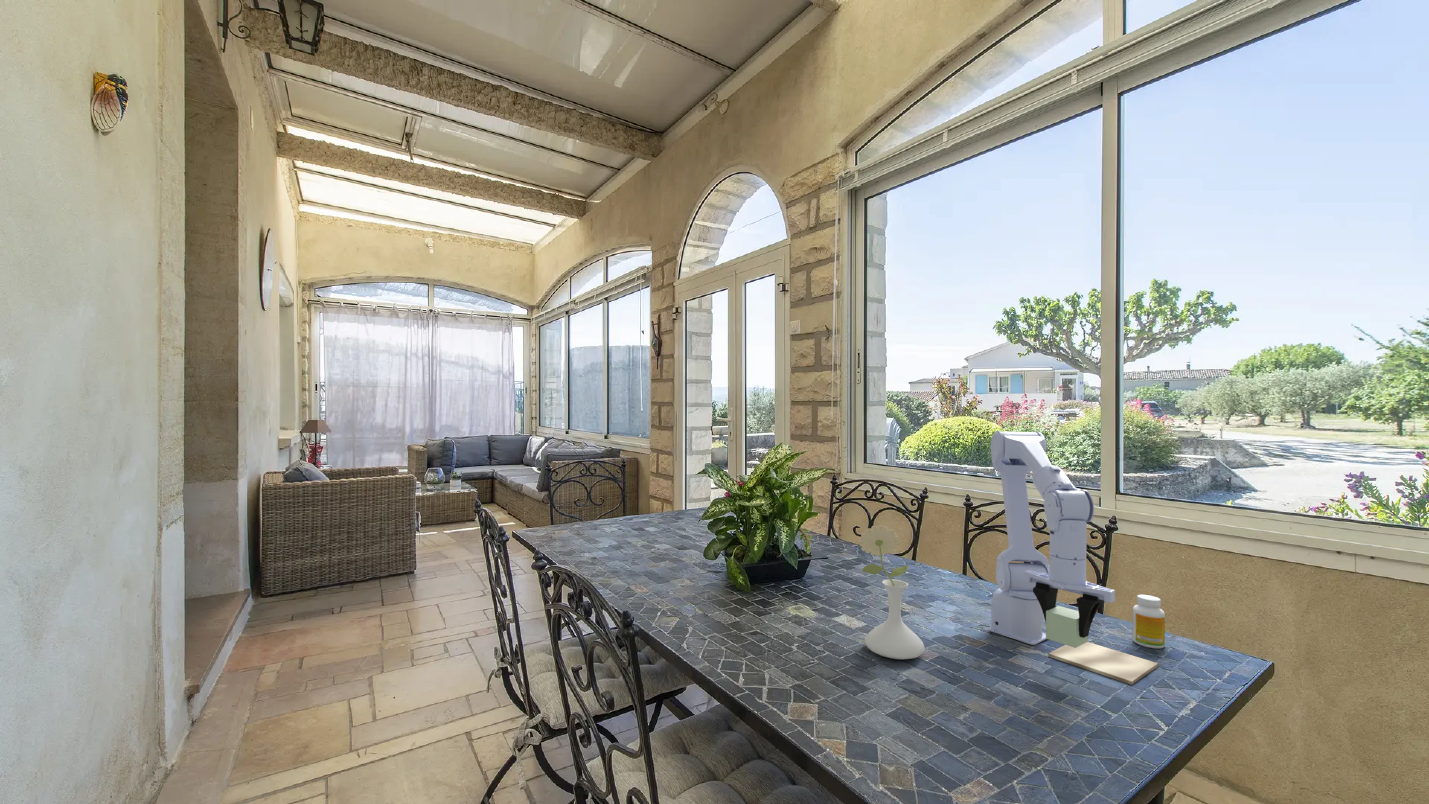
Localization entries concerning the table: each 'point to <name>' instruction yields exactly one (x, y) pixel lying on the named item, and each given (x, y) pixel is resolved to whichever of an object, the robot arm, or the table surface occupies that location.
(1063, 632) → the sage cube
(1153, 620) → the supplement bottle
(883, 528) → the flower in vase
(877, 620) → the table surface
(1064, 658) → the wooden board
